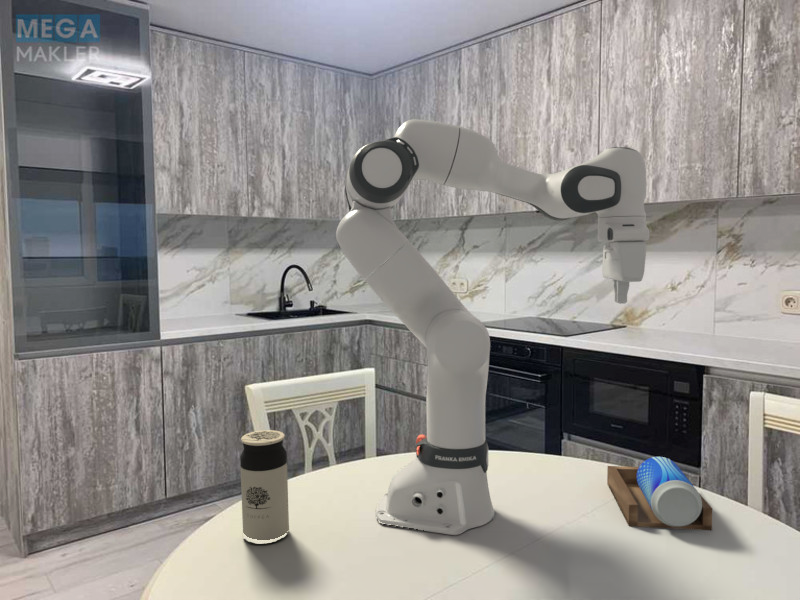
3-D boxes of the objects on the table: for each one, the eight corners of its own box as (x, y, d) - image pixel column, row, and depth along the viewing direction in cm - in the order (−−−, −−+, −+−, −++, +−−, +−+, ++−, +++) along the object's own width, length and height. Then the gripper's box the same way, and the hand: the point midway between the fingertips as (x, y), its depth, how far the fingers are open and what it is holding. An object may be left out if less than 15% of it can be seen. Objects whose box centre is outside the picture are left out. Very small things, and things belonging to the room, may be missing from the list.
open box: (628, 526, 106) (629, 504, 106) (607, 484, 126) (607, 465, 125) (711, 530, 104) (712, 508, 104) (677, 487, 124) (677, 468, 123)
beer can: (706, 486, 102) (680, 454, 117) (654, 480, 103) (635, 450, 119) (702, 533, 102) (676, 495, 118) (651, 527, 104) (632, 491, 119)
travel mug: (261, 522, 110) (257, 427, 109) (297, 529, 107) (294, 432, 106) (233, 541, 103) (229, 440, 102) (272, 549, 100) (268, 445, 99)
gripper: (595, 234, 127) (594, 299, 128) (615, 231, 107) (614, 307, 108) (626, 233, 126) (625, 298, 127) (652, 230, 106) (651, 307, 107)
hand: (620, 303), depth 117 cm, fingers closed
